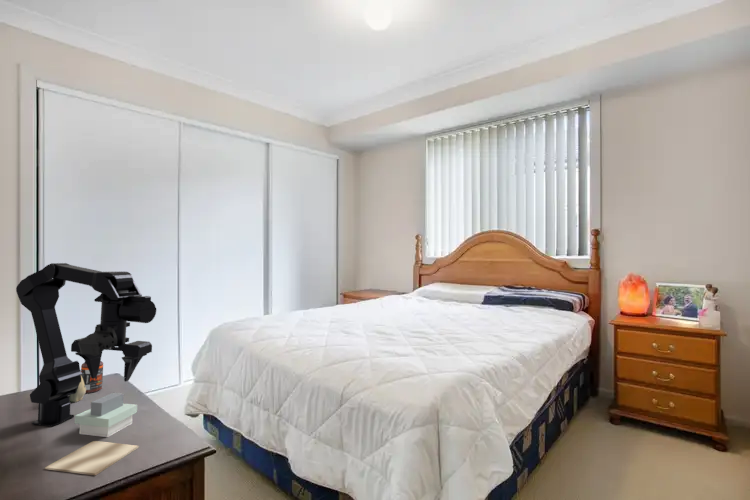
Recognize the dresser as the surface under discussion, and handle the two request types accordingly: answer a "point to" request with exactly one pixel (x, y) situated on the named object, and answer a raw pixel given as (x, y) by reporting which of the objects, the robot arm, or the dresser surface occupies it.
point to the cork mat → (92, 458)
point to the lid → (106, 411)
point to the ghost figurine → (78, 392)
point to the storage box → (105, 428)
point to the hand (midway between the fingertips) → (110, 379)
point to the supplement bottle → (90, 382)
